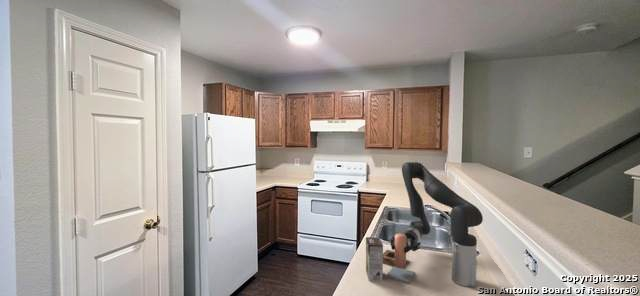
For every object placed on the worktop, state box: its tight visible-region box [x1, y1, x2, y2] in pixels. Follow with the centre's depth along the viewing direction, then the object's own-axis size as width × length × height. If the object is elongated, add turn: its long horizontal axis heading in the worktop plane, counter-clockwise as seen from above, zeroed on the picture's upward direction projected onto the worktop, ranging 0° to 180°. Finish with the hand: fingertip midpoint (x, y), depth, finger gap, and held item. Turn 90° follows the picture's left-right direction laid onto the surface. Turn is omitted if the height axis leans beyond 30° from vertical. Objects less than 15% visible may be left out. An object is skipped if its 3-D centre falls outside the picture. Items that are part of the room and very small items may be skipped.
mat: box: [385, 266, 416, 285], centre depth 125 cm, size 10×10×1 cm
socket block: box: [383, 249, 395, 267], centre depth 139 cm, size 10×10×3 cm
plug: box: [394, 232, 407, 269], centre depth 124 cm, size 5×5×14 cm
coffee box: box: [365, 236, 384, 282], centre depth 124 cm, size 9×6×16 cm
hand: (398, 249), depth 122 cm, fingers closed on plug, 5 cm apart
